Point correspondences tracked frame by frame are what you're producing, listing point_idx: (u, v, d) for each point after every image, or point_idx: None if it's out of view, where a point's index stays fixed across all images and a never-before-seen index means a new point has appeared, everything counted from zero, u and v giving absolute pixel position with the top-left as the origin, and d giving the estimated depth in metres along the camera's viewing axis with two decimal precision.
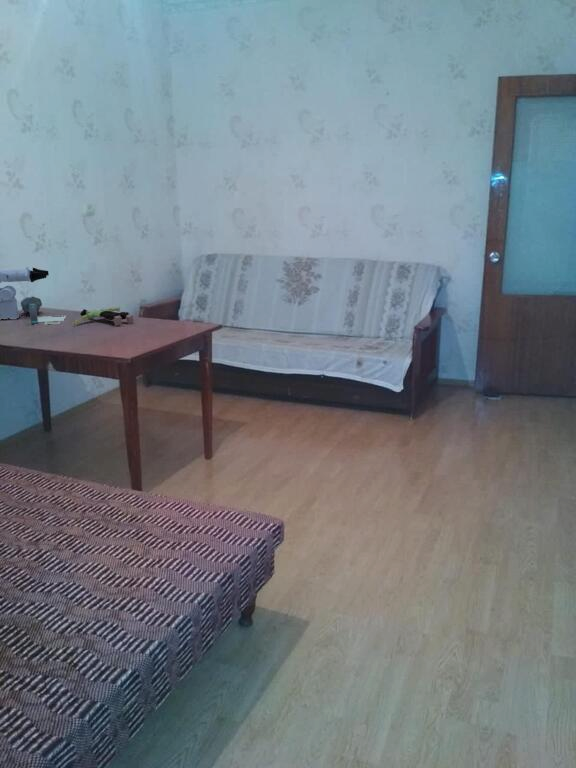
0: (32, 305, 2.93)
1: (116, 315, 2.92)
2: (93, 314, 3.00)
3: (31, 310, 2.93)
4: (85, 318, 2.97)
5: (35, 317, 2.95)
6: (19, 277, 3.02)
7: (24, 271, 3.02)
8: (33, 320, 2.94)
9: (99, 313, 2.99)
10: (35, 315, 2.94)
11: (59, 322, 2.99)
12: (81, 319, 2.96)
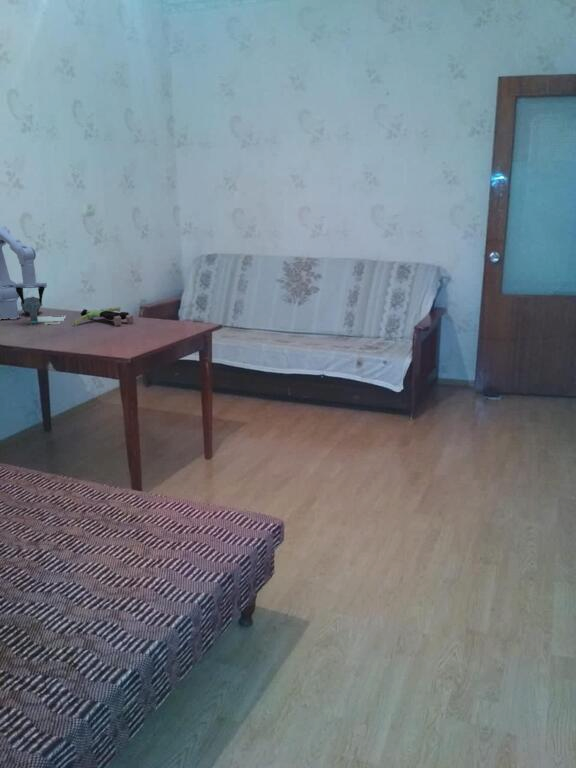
0: (32, 305, 2.93)
1: (116, 315, 2.92)
2: (93, 314, 3.00)
3: (31, 310, 2.93)
4: (85, 318, 2.97)
5: (35, 317, 2.95)
6: None
7: (24, 282, 2.88)
8: (33, 320, 2.94)
9: (99, 313, 2.99)
10: (35, 315, 2.94)
11: (59, 322, 2.99)
12: (81, 319, 2.96)
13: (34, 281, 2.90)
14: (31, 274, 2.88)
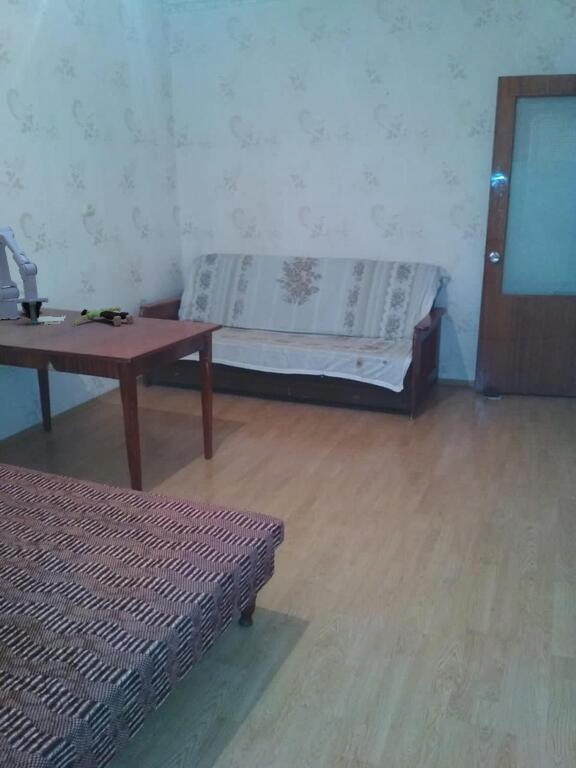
0: (32, 305, 2.93)
1: (116, 315, 2.92)
2: (93, 314, 3.00)
3: (31, 310, 2.93)
4: (85, 318, 2.97)
5: (35, 317, 2.95)
6: None
7: (26, 297, 2.90)
8: (33, 320, 2.94)
9: (99, 313, 2.99)
10: (35, 315, 2.94)
11: (59, 322, 2.99)
12: (81, 319, 2.96)
13: (36, 296, 2.92)
14: (33, 289, 2.90)
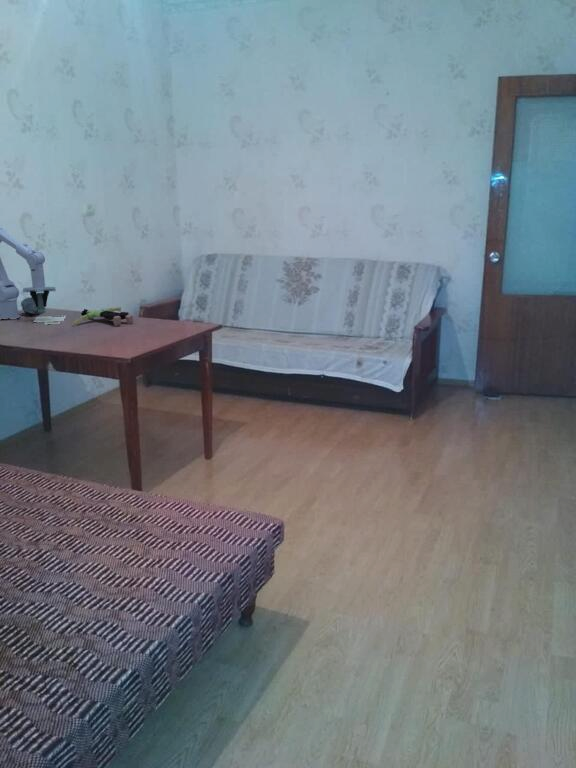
0: (39, 294, 2.99)
1: (115, 315, 2.92)
2: (93, 314, 3.00)
3: (38, 299, 2.99)
4: (85, 318, 2.98)
5: (42, 306, 3.00)
6: None
7: (34, 286, 2.96)
8: (40, 309, 3.00)
9: (99, 313, 2.99)
10: (42, 304, 3.00)
11: (59, 322, 2.99)
12: (81, 319, 2.96)
13: (43, 285, 2.98)
14: (40, 278, 2.96)
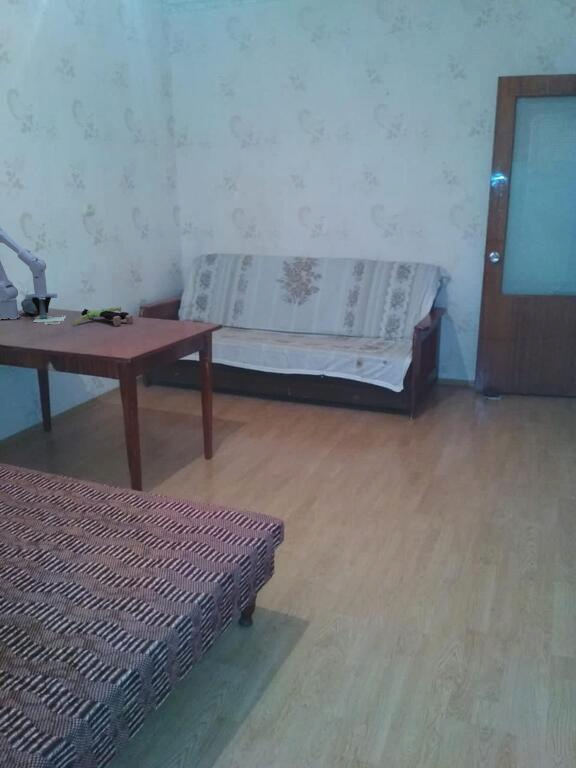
0: (41, 300, 3.04)
1: (115, 315, 2.92)
2: (93, 314, 3.00)
3: (40, 304, 3.04)
4: (85, 318, 2.98)
5: (44, 311, 3.06)
6: None
7: (36, 293, 3.02)
8: (42, 314, 3.05)
9: (99, 313, 2.99)
10: (44, 309, 3.05)
11: (59, 322, 2.99)
12: (81, 319, 2.96)
13: (45, 292, 3.03)
14: (42, 285, 3.01)
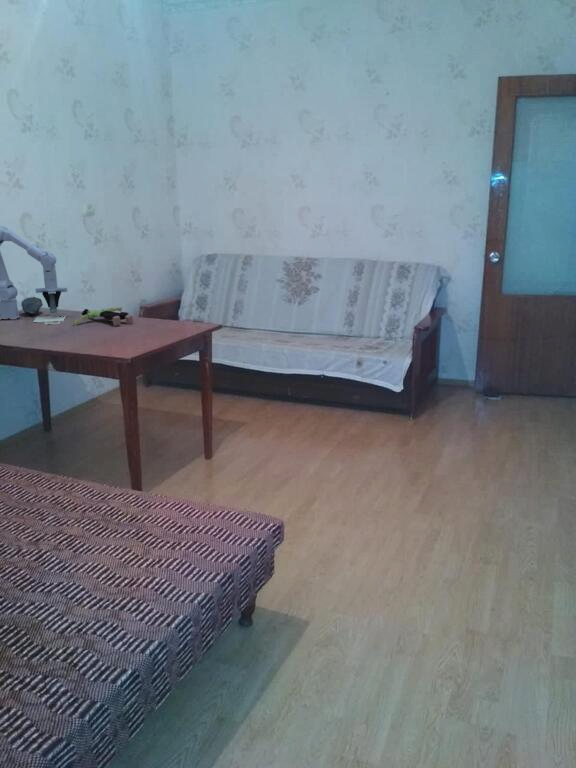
0: (52, 294, 3.05)
1: (115, 315, 2.92)
2: (93, 314, 3.01)
3: (51, 299, 3.05)
4: (85, 318, 2.98)
5: (54, 305, 3.06)
6: None
7: (46, 287, 3.02)
8: (52, 308, 3.06)
9: (99, 313, 2.99)
10: (54, 303, 3.06)
11: (59, 322, 2.99)
12: (81, 319, 2.96)
13: (55, 286, 3.04)
14: (53, 279, 3.02)
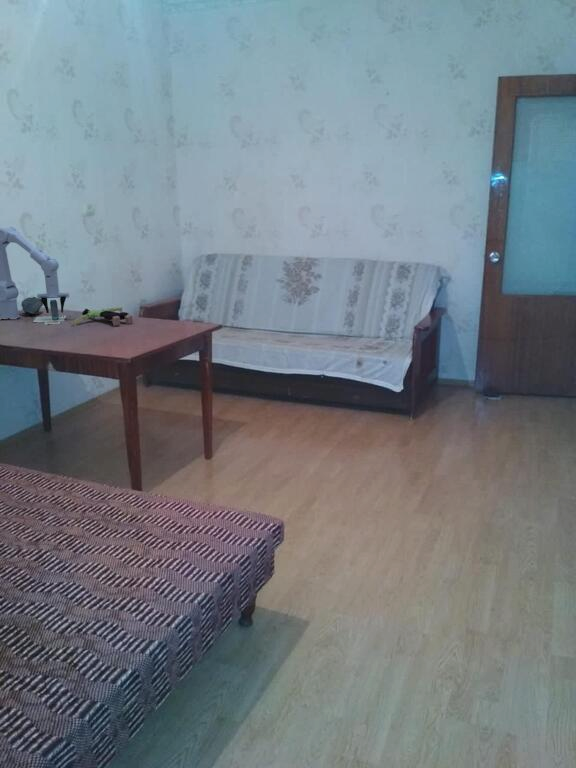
0: (53, 301, 3.01)
1: (114, 315, 2.92)
2: (93, 314, 3.01)
3: (52, 306, 3.01)
4: (85, 318, 2.98)
5: (56, 313, 3.03)
6: None
7: (48, 293, 2.99)
8: (54, 316, 3.03)
9: (99, 313, 3.00)
10: (56, 311, 3.03)
11: (59, 322, 2.99)
12: (81, 319, 2.97)
13: (57, 291, 3.00)
14: (54, 285, 2.98)
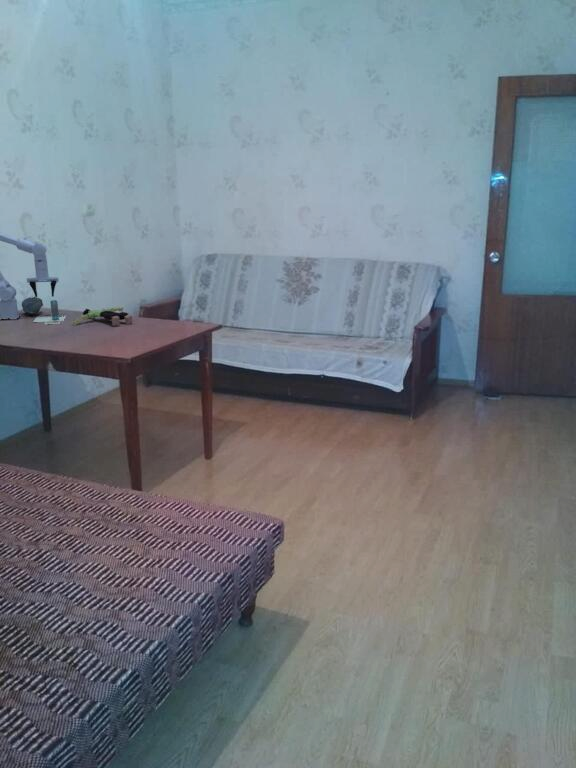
0: (53, 301, 3.01)
1: (114, 315, 2.92)
2: (94, 314, 3.01)
3: (52, 306, 3.01)
4: (85, 318, 2.98)
5: (56, 313, 3.03)
6: None
7: (37, 277, 3.04)
8: (54, 316, 3.03)
9: (99, 313, 3.00)
10: (56, 311, 3.03)
11: (59, 322, 2.99)
12: (81, 318, 2.97)
13: (47, 275, 3.05)
14: (44, 269, 3.03)
